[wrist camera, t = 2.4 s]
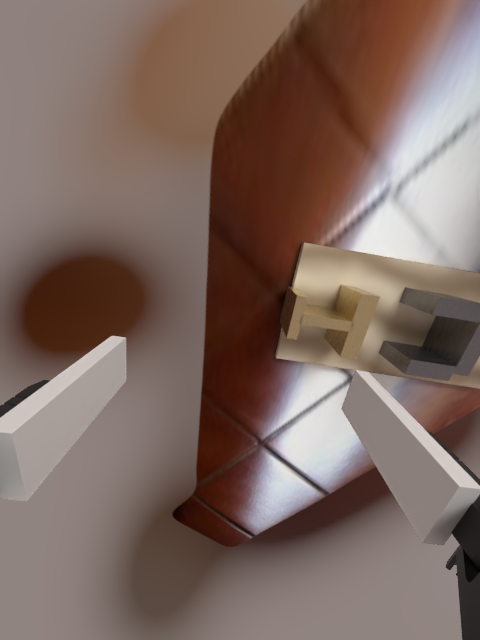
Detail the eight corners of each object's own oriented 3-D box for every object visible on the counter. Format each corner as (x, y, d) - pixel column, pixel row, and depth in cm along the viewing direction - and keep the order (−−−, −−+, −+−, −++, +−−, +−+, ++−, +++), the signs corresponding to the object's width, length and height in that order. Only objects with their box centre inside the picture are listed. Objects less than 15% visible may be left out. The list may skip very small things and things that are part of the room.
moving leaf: (289, 276, 29) (300, 283, 24) (355, 287, 29) (379, 296, 24) (277, 330, 31) (284, 348, 26) (338, 340, 32) (356, 359, 27)
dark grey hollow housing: (405, 287, 29) (440, 297, 24) (460, 296, 30) (507, 308, 25) (378, 353, 33) (404, 374, 27) (429, 360, 33) (464, 383, 28)
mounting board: (302, 242, 29) (304, 242, 28) (538, 283, 30) (547, 285, 29) (275, 354, 34) (276, 358, 33) (477, 385, 35) (484, 389, 34)
